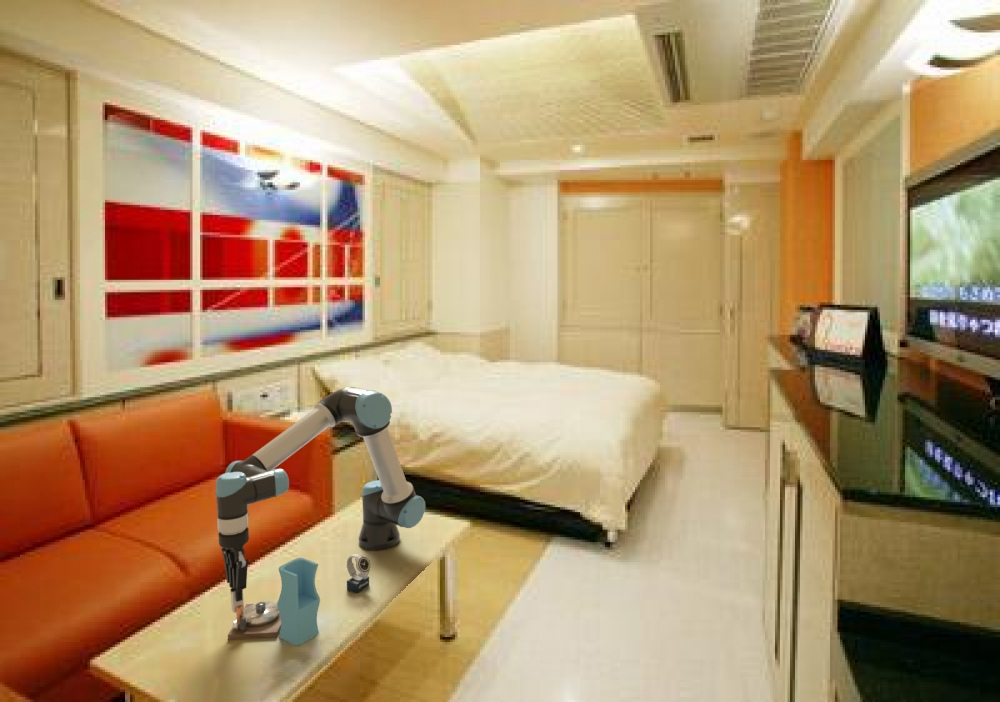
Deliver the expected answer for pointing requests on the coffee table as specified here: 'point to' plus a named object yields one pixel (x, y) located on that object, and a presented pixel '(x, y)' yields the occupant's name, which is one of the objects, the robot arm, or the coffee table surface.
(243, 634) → the base board
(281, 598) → the blue tall hollow container
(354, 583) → the watch
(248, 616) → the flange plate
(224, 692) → the coffee table surface
